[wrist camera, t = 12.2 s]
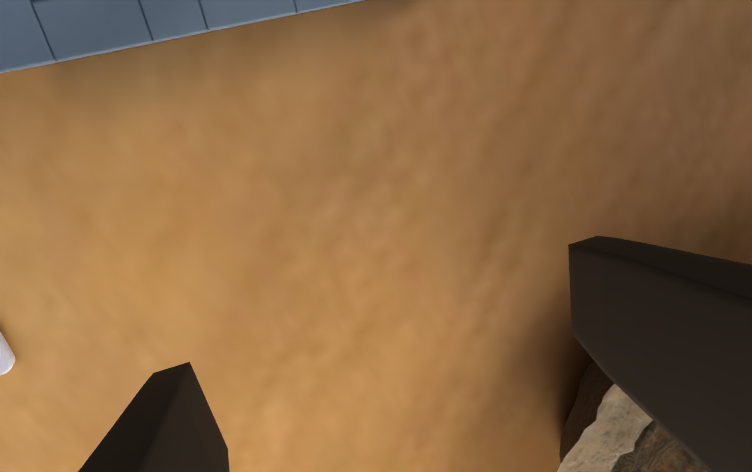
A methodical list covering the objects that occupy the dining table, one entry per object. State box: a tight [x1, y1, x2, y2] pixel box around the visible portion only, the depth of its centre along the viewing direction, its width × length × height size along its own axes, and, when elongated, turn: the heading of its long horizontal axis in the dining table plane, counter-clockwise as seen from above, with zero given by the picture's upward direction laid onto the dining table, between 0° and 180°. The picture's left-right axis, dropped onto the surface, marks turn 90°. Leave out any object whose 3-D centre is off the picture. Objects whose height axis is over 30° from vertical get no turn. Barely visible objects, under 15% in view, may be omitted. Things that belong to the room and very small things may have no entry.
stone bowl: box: [557, 361, 707, 472], centre depth 25 cm, size 25×25×9 cm
